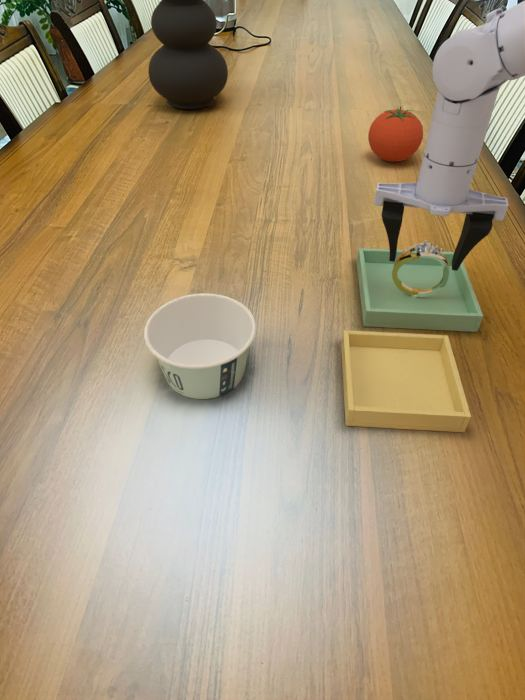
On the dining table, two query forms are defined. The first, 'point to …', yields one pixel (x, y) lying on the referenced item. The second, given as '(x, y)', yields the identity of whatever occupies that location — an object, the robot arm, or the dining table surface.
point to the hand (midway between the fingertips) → (423, 261)
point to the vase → (186, 54)
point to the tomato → (395, 135)
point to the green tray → (422, 312)
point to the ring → (423, 252)
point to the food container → (201, 343)
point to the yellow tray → (402, 382)
